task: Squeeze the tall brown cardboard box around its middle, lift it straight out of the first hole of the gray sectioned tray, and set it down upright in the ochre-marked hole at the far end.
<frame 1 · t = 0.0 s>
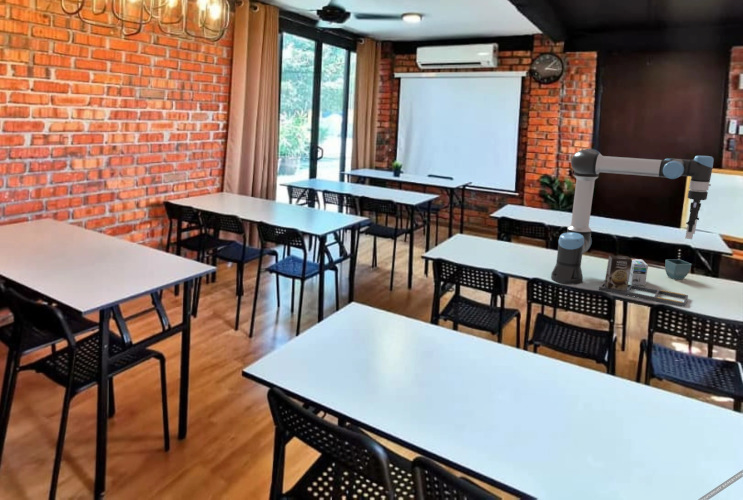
hand: (689, 236, 245), 28 cm above the table, tool pointing down, fingers open, 13 cm apart
light bulb box: (635, 282, 268), on the table
flower pot: (675, 278, 275), on the table
gray sectioned tray: (642, 294, 250), on the table
brown cardboard box: (615, 289, 256), resting in gray sectioned tray
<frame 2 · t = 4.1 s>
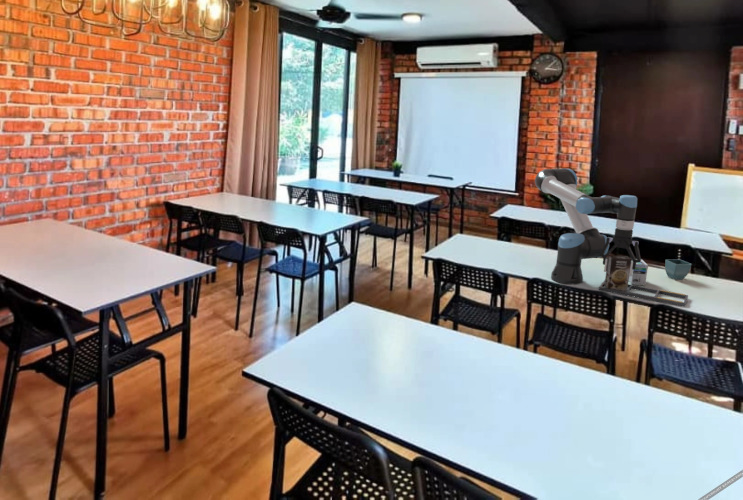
hand: (617, 273, 254), 8 cm above the table, tool pointing down, fingers closed on brown cardboard box, 10 cm apart
brown cardboard box: (615, 289, 256), resting in gray sectioned tray, touching gripper
everything else where it was.
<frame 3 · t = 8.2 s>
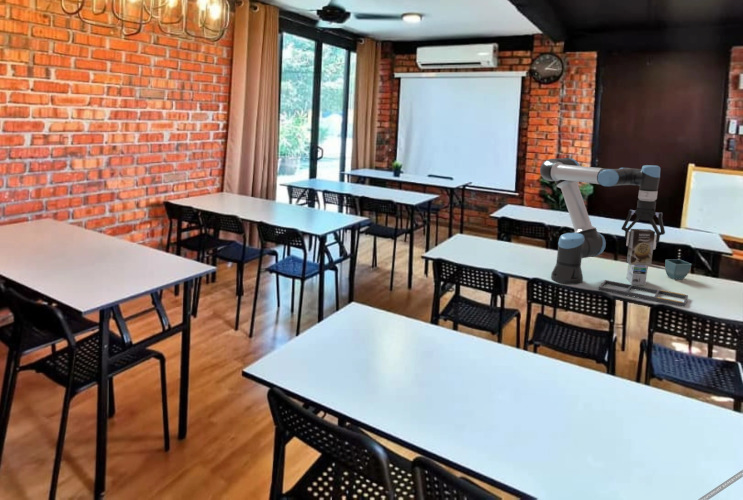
hand: (640, 247, 246), 22 cm above the table, tool pointing down, fingers closed on brown cardboard box, 10 cm apart
brown cardboard box: (638, 264, 248), point 14 cm above the table, touching gripper
everything else where it was.
when the fingers open (9 cm above the table, at t = 12.2 s): brown cardboard box drops 1 cm, resting in gray sectioned tray.
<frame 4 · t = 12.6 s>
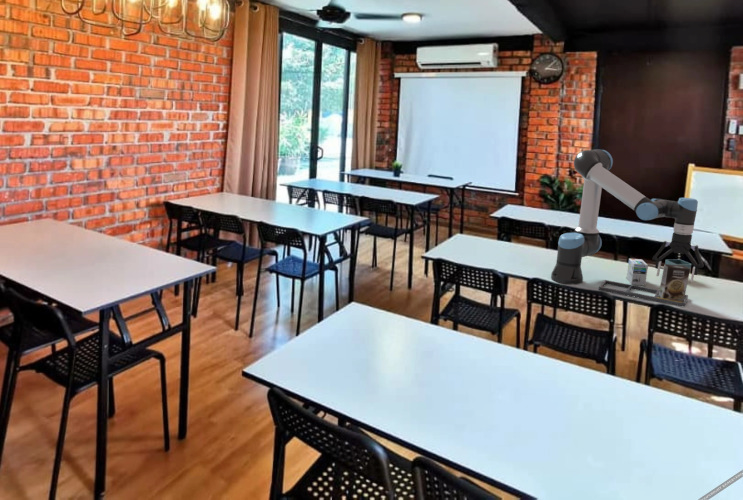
hand: (674, 278, 241), 10 cm above the table, tool pointing down, fingers open, 13 cm apart
brown cardboard box: (670, 300, 243), resting in gray sectioned tray
everything else where it was.
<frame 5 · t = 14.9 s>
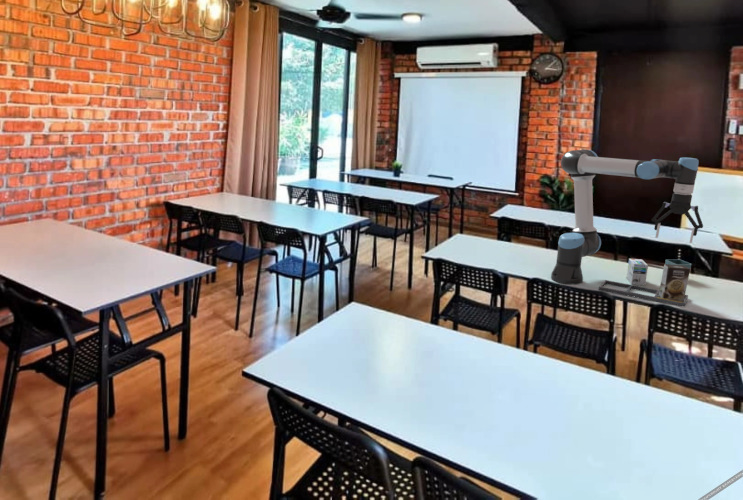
hand: (673, 239, 239), 28 cm above the table, tool pointing down, fingers open, 13 cm apart
nothing on the table moved.
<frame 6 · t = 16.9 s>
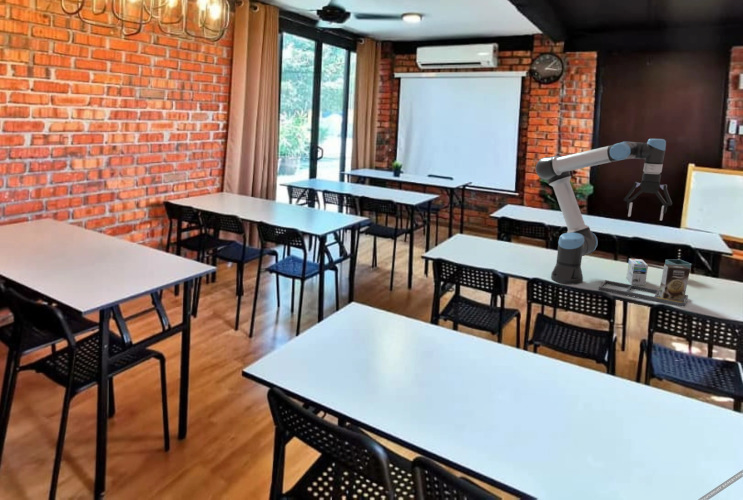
hand: (644, 218, 250), 35 cm above the table, tool pointing down, fingers open, 13 cm apart
nothing on the table moved.
at the end: brown cardboard box 0.1 cm from the target spot, resting in gray sectioned tray; brown cardboard box tilted 0°; the gripper is holding nothing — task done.
